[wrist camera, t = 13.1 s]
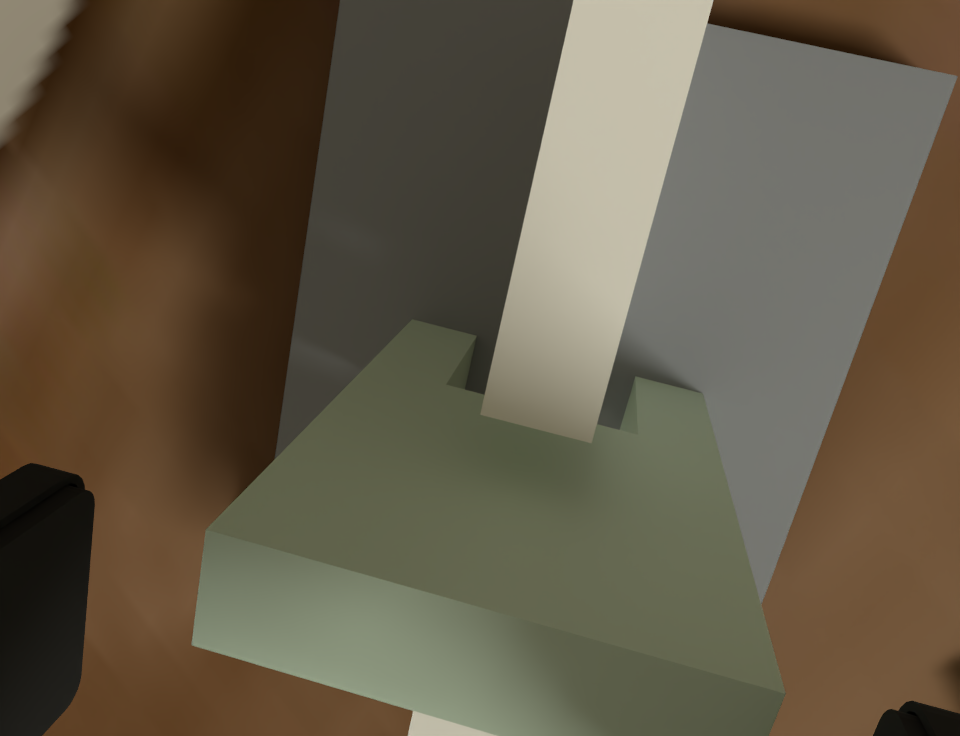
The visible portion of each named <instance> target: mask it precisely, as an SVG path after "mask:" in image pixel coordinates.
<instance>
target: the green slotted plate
mask: <svg viewBox="0 0 960 736" xmlns="http://www.w3.org/2000/svg"><path fill="white" fill-rule="evenodd" d="M476 337H477V336H476V335H472V334H468V333H464V332H460V331H456V330H452V329H448V328H444V327H440V326H437V325H433V324H429V323H425V322H421V321H417V320H413V319H412V320H411V321H410V322H409V323H408V324H407V325H406V326H405V327H404V328H403V329H402V330H401V331H400V332H399V333H398V334H397V335H396V336H395V337H394V338H393V339H392V340H391V341H390V342H389V343H388V345H387V346H386V347H385V348H384V349H383V350H382V351H381V352H380V353H379V354H378V355H377V356H376V357H375V358H374V359H373V360H372V361H371V362H370V363H369V364H368V365H367V366H366V367H365V368H364V369H363V370H362V371H361V372H360V373H359V374H358V375H357V376H356V377H355V378H354V379H353V380H352V381H351V382H350V383H349V384H348V385H347V386H346V387H345V388H344V389H343V390H342V391H341V392H340V393H339V394H338V395H337V396H336V397H335V399H334V400H333V401H332V402H331V403H330V404H329V405H328V406H327V407H326V408H325V409H324V410H323V411H322V412H321V413H320V414H319V415H318V416H317V417H316V418H315V419H314V420H313V421H312V422H311V423H310V424H309V425H308V426H307V427H306V428H305V429H304V430H303V431H302V432H301V433H300V434H299V435H298V436H297V437H296V438H295V439H294V440H293V441H292V442H291V443H290V444H289V445H288V446H287V447H286V448H285V449H284V450H283V451H282V453H281V454H280V455H279V456H278V457H277V458H276V459H275V460H274V461H273V462H272V463H271V464H270V465H269V466H268V467H267V468H266V469H265V470H264V471H263V472H262V473H261V474H260V475H259V476H258V477H257V478H256V479H255V480H254V481H253V482H252V483H251V484H250V485H249V486H248V487H247V488H246V489H245V490H244V491H243V492H242V493H241V494H240V495H239V496H238V497H237V498H236V499H235V500H234V501H233V502H232V503H231V504H230V506H229V507H228V508H227V509H226V510H225V511H224V512H223V513H222V514H221V515H220V516H219V517H218V518H217V519H216V520H215V521H214V522H213V523H212V524H211V525H210V526H209V527H208V528H207V529H206V533H205V541H204V549H203V557H202V565H201V573H200V581H199V589H198V597H197V605H196V613H195V622H194V630H193V638H192V645H193V646H196V647H200V648H203V649H206V650H210V651H213V652H216V653H220V654H223V655H227V656H230V657H233V658H237V659H240V660H243V661H247V662H250V663H254V664H257V665H260V666H264V667H267V668H270V669H274V670H277V671H281V672H284V673H287V674H291V675H294V676H297V677H301V678H304V679H308V680H311V681H314V682H318V683H321V684H324V685H328V686H331V687H335V688H338V689H341V690H345V691H348V692H351V693H355V694H358V695H362V696H365V697H368V698H372V699H375V700H378V701H382V702H385V703H389V704H392V705H395V706H399V707H402V708H405V709H409V710H412V711H416V712H419V713H422V714H426V715H429V716H432V717H436V718H439V719H443V720H446V721H449V722H453V723H456V724H459V725H463V726H466V727H470V728H473V729H476V730H480V731H483V732H486V733H490V734H493V735H497V736H769V733H770V731H771V728H772V726H773V724H774V721H775V719H776V716H777V714H778V711H779V709H780V706H781V704H782V701H783V699H784V697H785V690H784V686H783V683H782V679H781V675H780V672H779V668H778V664H777V661H776V657H775V654H774V650H773V646H772V643H771V639H770V635H769V632H768V628H767V624H766V621H765V617H764V614H763V610H762V606H761V603H760V599H759V595H758V592H757V588H756V584H755V581H754V577H753V573H752V570H751V566H750V563H749V559H748V555H747V552H746V548H745V544H744V541H743V537H742V533H741V530H740V526H739V523H738V519H737V515H736V512H735V508H734V504H733V501H732V497H731V493H730V490H729V486H728V483H727V479H726V475H725V472H724V468H723V464H722V461H721V457H720V453H719V450H718V446H717V443H716V439H715V435H714V432H713V428H712V424H711V421H710V417H709V413H708V410H707V406H706V403H705V399H704V395H703V393H699V392H695V391H691V390H687V389H683V388H679V387H675V386H671V385H667V384H664V383H660V382H656V381H652V380H648V379H644V378H640V377H636V376H635V379H634V383H633V386H632V390H631V393H630V397H629V400H628V403H627V407H626V410H625V414H624V417H623V420H622V424H621V427H620V430H618V429H614V428H610V427H606V426H602V425H598V424H597V426H596V429H595V433H594V437H593V440H592V443H588V442H584V441H580V440H577V439H573V438H569V437H565V436H561V435H557V434H553V433H549V432H545V431H542V430H538V429H534V428H530V427H526V426H522V425H518V424H514V423H511V422H507V421H503V420H499V419H495V418H491V417H487V416H483V415H480V413H481V409H482V404H483V400H484V394H480V393H476V392H472V391H468V390H465V386H466V382H467V377H468V373H469V368H470V364H471V360H472V355H473V351H474V346H475V342H476Z"/></svg>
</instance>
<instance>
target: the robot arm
mask: <svg viewBox="0 0 960 736" xmlns="http://www.w3.org/2000/svg"><path fill="white" fill-rule="evenodd" d="M94 507H95V502H94V496H93V494H92V493H91V492H90V491H88V490H85V485H84V483H83V480H82V478H81V477H80V476H79V475H76V474H72V473H69V472H65V471H61V470H58V469H54V468H50V467H46V466H43V465H39V464H33V463H30V464H27V465H25V466H23V467H21V468H19V469H17V470H16V471H14V472H12V473H11V474H9V475H7V476H6V477H4V478H2V479H0V736H42V735H43V734H44V733H45V732H46V731H47V730H48V728H49V727H50V726H51V725H52V724H53V723H54V722H55V721H56V720H57V719H58V718H59V717H60V716H61V714H62V713H63V712H64V711H65V710H66V709H67V707H68V706H69V705H70V703H71V702H72V700H73V698H74V696H75V694H76V692H77V690H78V687H79V683H80V679H81V672H82V659H83V646H84V634H85V621H86V608H87V595H88V583H89V570H90V557H91V545H92V532H93V519H94ZM873 736H960V714H959V713H955V712H951V711H948V710H944V709H940V708H937V707H933V706H929V705H926V704H922V703H918V702H914V701H909V702H906V703H905V704H904V705H903V706H902V707H901V708H900V709H899V711H896V710H893V709H890V710H887V711H886V712H885V713H884V714H883V715H882V717H881V719H880V721H879V723H878V725H877V728H876V730H875V732H874V734H873Z"/></svg>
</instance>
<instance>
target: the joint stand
mask: <svg viewBox="0 0 960 736" xmlns="http://www.w3.org/2000/svg"><path fill="white" fill-rule="evenodd" d="M712 4H713V0H340V5H339V12H338V19H337V26H336V33H335V40H334V47H333V54H332V61H331V68H330V75H329V82H328V89H327V96H326V103H325V110H324V117H323V124H322V131H321V138H320V145H319V152H318V159H317V166H316V173H315V180H314V187H313V194H312V201H311V208H310V215H309V222H308V229H307V236H306V243H305V250H304V257H303V264H302V271H301V278H300V285H299V292H298V299H297V306H296V313H295V320H294V327H293V334H292V341H291V348H290V355H289V362H288V369H287V376H286V383H285V390H284V397H283V404H282V411H281V418H280V425H279V432H278V439H277V446H276V453H275V459H276V458H277V457H278V456H279V455H280V454H281V453H282V451H283V450H284V449H285V448H286V447H287V446H288V445H289V444H290V443H291V442H292V441H293V440H294V439H295V438H296V437H297V436H298V435H299V434H300V433H301V432H302V431H303V430H304V429H305V428H306V427H307V426H308V425H309V424H310V423H311V422H312V421H313V420H314V419H315V418H316V417H317V416H318V415H319V414H320V413H321V412H322V411H323V410H324V409H325V408H326V407H327V406H328V405H329V404H330V403H331V402H332V401H333V400H334V399H335V397H336V396H337V395H338V394H339V393H340V392H341V391H342V390H343V389H344V388H345V387H346V386H347V385H348V384H349V383H350V382H351V381H352V380H353V379H354V378H355V377H356V376H357V375H358V374H359V373H360V372H361V371H362V370H363V369H364V368H365V367H366V366H367V365H368V364H369V363H370V362H371V361H372V360H373V359H374V358H375V357H376V356H377V355H378V354H379V353H380V352H381V351H382V350H383V349H384V348H385V347H386V346H387V345H388V343H389V342H390V341H391V340H392V339H393V338H394V337H395V336H396V335H397V334H398V333H399V332H400V331H401V330H402V329H403V328H404V327H405V326H406V325H407V324H408V323H409V322H410V321H411V320H412V319H413V320H417V321H421V322H425V323H429V324H433V325H437V326H440V327H444V328H448V329H452V330H456V331H460V332H464V333H468V334H472V335H476V336H477V337H476V342H475V346H474V351H473V355H472V360H471V364H470V368H469V373H468V377H467V382H466V386H465V390H468V391H472V392H476V393H480V394H484V400H483V404H482V409H481V413H480V415H483V416H487V417H491V418H495V419H499V420H503V421H507V422H511V423H514V424H518V425H522V426H526V427H530V428H534V429H538V430H542V431H545V432H549V433H553V434H557V435H561V436H565V437H569V438H573V439H577V440H580V441H584V442H588V443H592V440H593V437H594V433H595V429H596V426H597V424H598V425H602V426H606V427H610V428H614V429H618V430H620V427H621V424H622V420H623V417H624V414H625V410H626V407H627V403H628V400H629V397H630V393H631V390H632V386H633V383H634V379H635V376H636V377H640V378H644V379H648V380H652V381H656V382H660V383H664V384H667V385H671V386H675V387H679V388H683V389H687V390H691V391H695V392H699V393H703V395H704V399H705V403H706V406H707V410H708V413H709V417H710V421H711V424H712V428H713V432H714V435H715V439H716V443H717V446H718V450H719V453H720V457H721V461H722V464H723V468H724V472H725V475H726V479H727V483H728V486H729V490H730V493H731V497H732V501H733V504H734V508H735V512H736V515H737V519H738V523H739V526H740V530H741V533H742V537H743V541H744V544H745V548H746V552H747V555H748V559H749V563H750V566H751V570H752V573H753V577H754V581H755V584H756V588H757V592H758V595H759V599H760V603H761V604H762V601H763V599H764V596H765V593H766V591H767V588H768V585H769V583H770V580H771V577H772V574H773V572H774V569H775V566H776V564H777V561H778V558H779V556H780V553H781V550H782V548H783V545H784V542H785V539H786V537H787V534H788V531H789V529H790V526H791V523H792V521H793V518H794V515H795V513H796V510H797V507H798V504H799V502H800V499H801V496H802V494H803V491H804V488H805V486H806V483H807V480H808V478H809V475H810V472H811V470H812V467H813V464H814V461H815V459H816V456H817V453H818V451H819V448H820V445H821V443H822V440H823V437H824V435H825V432H826V429H827V426H828V424H829V421H830V418H831V416H832V413H833V410H834V408H835V405H836V402H837V400H838V397H839V394H840V391H841V389H842V386H843V383H844V381H845V378H846V375H847V373H848V370H849V367H850V365H851V362H852V359H853V356H854V354H855V351H856V348H857V346H858V343H859V340H860V338H861V335H862V332H863V330H864V327H865V324H866V321H867V319H868V316H869V313H870V311H871V308H872V305H873V303H874V300H875V297H876V295H877V292H878V289H879V286H880V284H881V281H882V278H883V276H884V273H885V270H886V268H887V265H888V262H889V260H890V257H891V254H892V251H893V249H894V246H895V243H896V241H897V238H898V235H899V233H900V230H901V227H902V225H903V222H904V219H905V216H906V214H907V211H908V208H909V206H910V203H911V200H912V198H913V195H914V192H915V190H916V187H917V184H918V181H919V179H920V176H921V173H922V171H923V168H924V165H925V163H926V160H927V157H928V155H929V152H930V149H931V147H932V144H933V141H934V138H935V136H936V133H937V130H938V128H939V125H940V122H941V120H942V117H943V114H944V112H945V109H946V106H947V103H948V101H949V98H950V95H951V93H952V90H953V87H954V85H955V82H956V79H957V77H958V76H954V75H949V74H945V73H940V72H935V71H930V70H926V69H921V68H916V67H912V66H907V65H902V64H897V63H893V62H888V61H883V60H878V59H874V58H869V57H864V56H859V55H855V54H850V53H845V52H840V51H836V50H831V49H826V48H821V47H817V46H812V45H807V44H802V43H798V42H793V41H788V40H783V39H779V38H774V37H769V36H765V35H760V34H755V33H750V32H746V31H741V30H736V29H731V28H727V27H722V26H717V25H712V24H708V23H707V22H708V18H709V15H710V11H711V8H712ZM408 736H497V735H493V734H490V733H486V732H483V731H480V730H476V729H473V728H470V727H466V726H463V725H459V724H456V723H453V722H449V721H446V720H443V719H439V718H436V717H432V716H429V715H426V714H422V713H419V712H416V711H413V715H412V719H411V723H410V728H409V732H408Z"/></svg>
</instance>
